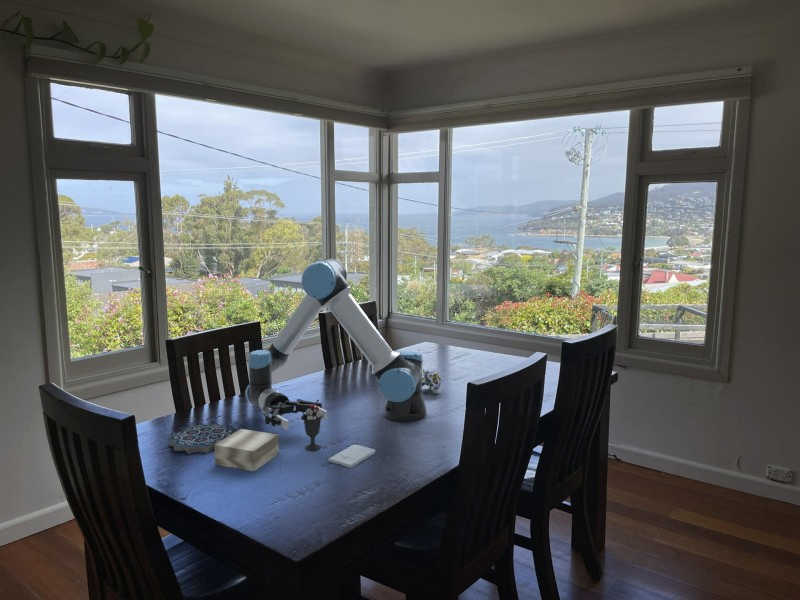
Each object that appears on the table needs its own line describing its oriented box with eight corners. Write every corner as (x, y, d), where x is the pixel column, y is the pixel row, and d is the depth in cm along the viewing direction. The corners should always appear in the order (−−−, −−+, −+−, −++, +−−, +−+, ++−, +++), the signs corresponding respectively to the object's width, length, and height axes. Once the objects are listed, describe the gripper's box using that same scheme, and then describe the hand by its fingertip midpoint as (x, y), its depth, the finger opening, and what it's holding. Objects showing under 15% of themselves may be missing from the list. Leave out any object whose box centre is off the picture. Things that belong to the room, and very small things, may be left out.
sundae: (327, 445, 180) (326, 398, 178) (317, 453, 174) (316, 405, 172) (308, 442, 182) (307, 396, 180) (298, 450, 176) (297, 403, 174)
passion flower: (435, 407, 232) (438, 389, 224) (409, 400, 234) (411, 382, 226) (442, 385, 240) (444, 367, 232) (416, 379, 242) (418, 361, 233)
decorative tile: (232, 452, 175) (232, 445, 175) (163, 456, 172) (162, 449, 172) (239, 428, 195) (239, 421, 194) (177, 431, 191) (177, 424, 191)
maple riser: (278, 453, 174) (278, 434, 173) (254, 471, 162) (253, 451, 161) (241, 447, 178) (241, 428, 177) (215, 464, 166) (214, 444, 165)
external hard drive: (375, 454, 175) (350, 469, 165) (353, 448, 179) (328, 463, 169) (375, 449, 175) (350, 464, 164) (353, 443, 179) (328, 457, 169)
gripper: (306, 405, 203) (341, 422, 187) (239, 421, 187) (270, 441, 171) (306, 385, 202) (340, 400, 186) (238, 399, 186) (270, 417, 170)
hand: (307, 420), depth 178 cm, fingers open, 13 cm apart
